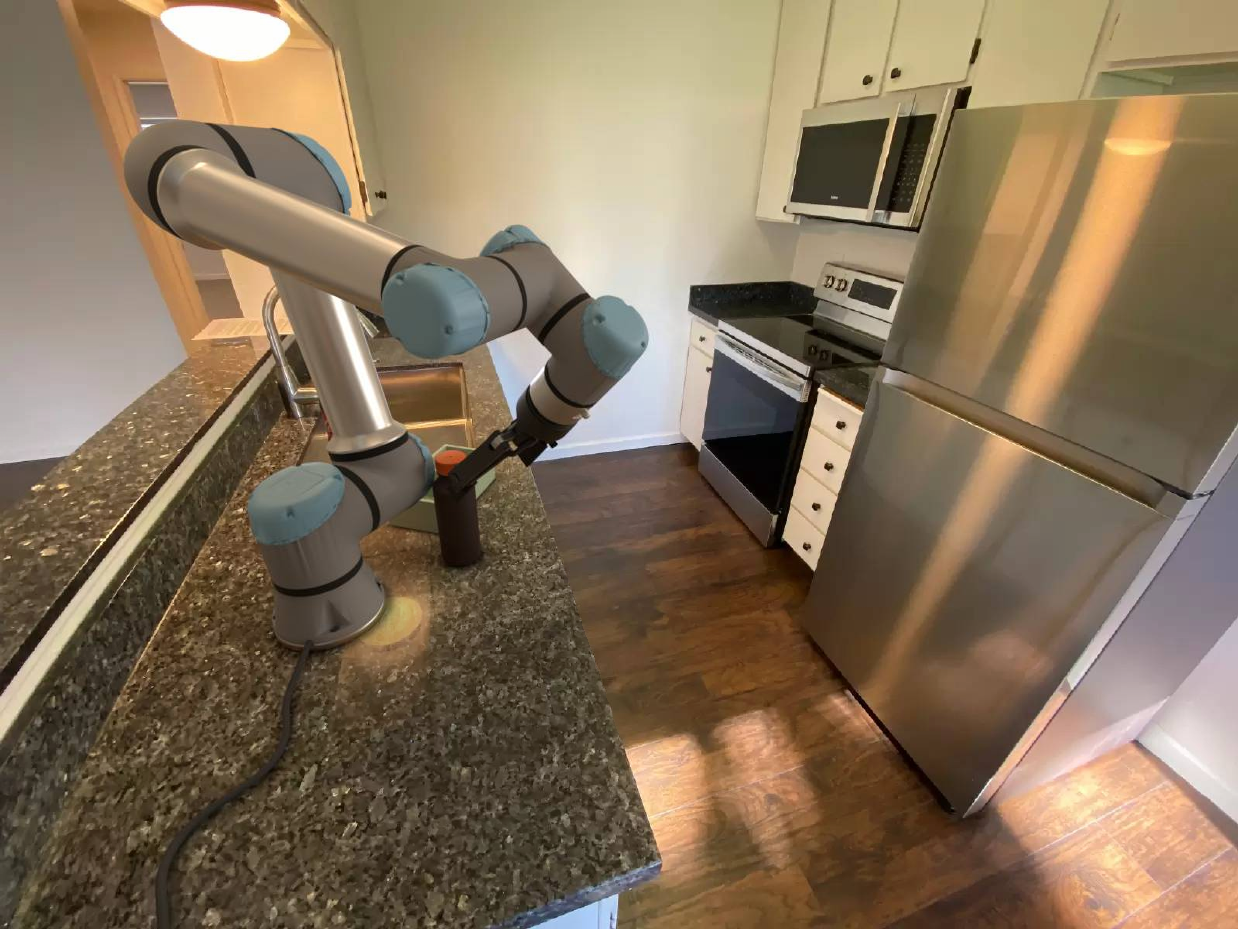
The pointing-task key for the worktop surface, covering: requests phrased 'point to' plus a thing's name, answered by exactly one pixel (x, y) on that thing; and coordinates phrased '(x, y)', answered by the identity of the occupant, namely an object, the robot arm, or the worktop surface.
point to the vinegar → (455, 515)
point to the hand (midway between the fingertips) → (490, 476)
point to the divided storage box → (424, 510)
